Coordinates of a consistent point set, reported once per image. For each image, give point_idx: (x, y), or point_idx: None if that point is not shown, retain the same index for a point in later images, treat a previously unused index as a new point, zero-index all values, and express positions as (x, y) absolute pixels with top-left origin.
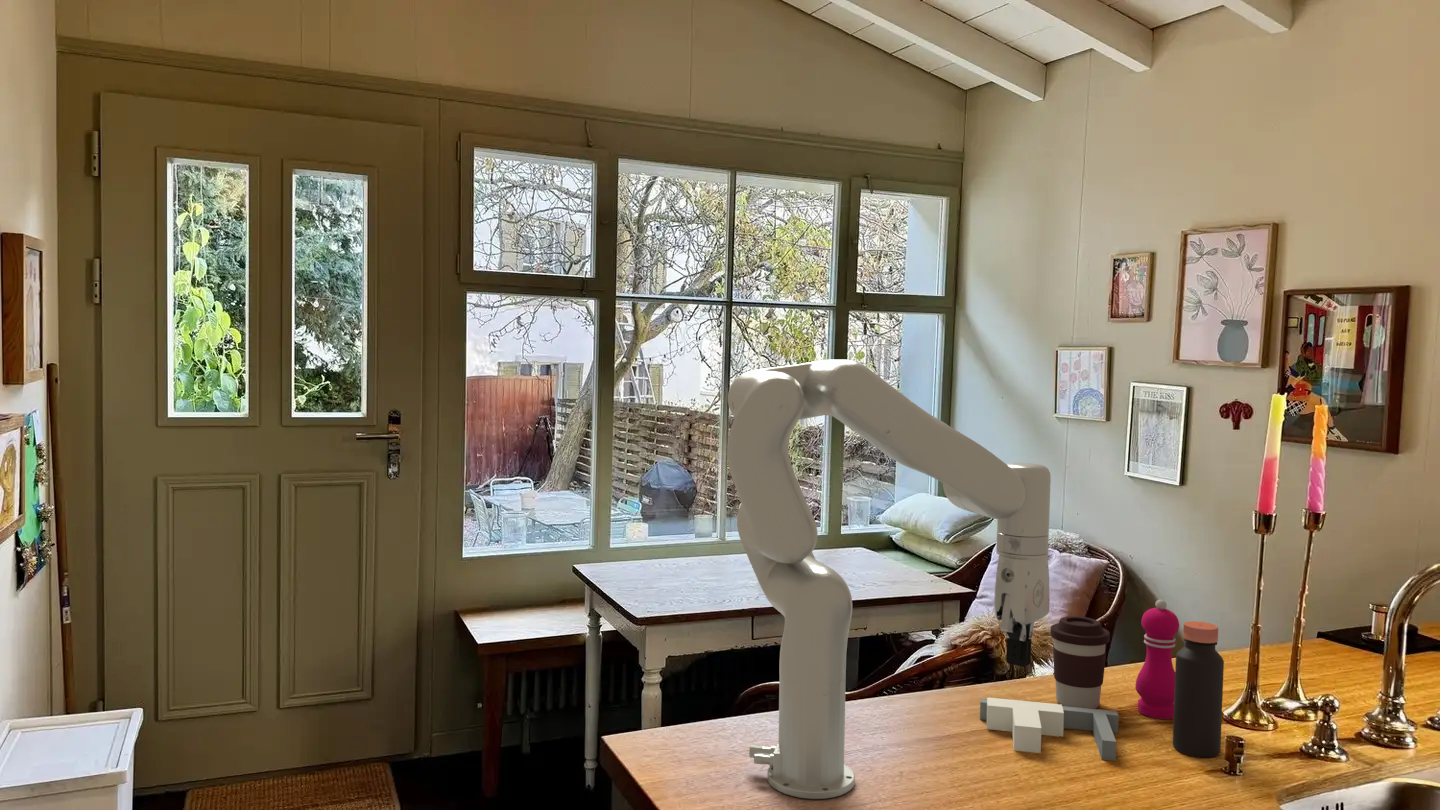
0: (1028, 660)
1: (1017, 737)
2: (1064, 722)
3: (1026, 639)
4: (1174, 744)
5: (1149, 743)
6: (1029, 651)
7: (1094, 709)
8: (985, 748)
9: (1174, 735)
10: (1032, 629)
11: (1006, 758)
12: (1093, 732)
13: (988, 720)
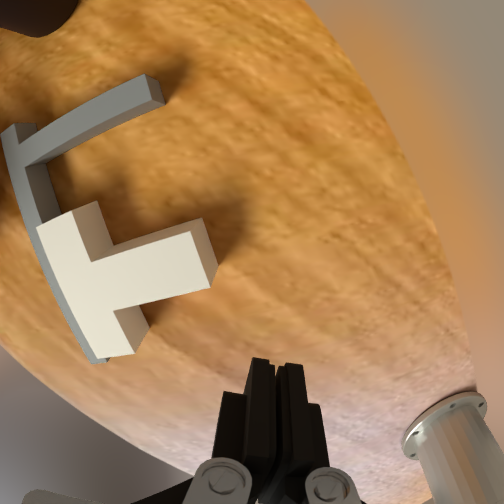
0: (268, 374)
1: (212, 270)
2: (54, 212)
3: (265, 468)
4: (55, 26)
5: (51, 66)
6: (267, 405)
7: (10, 170)
8: (241, 311)
9: (45, 23)
10: (196, 500)
11: (267, 268)
12: (55, 156)
13: (143, 334)
